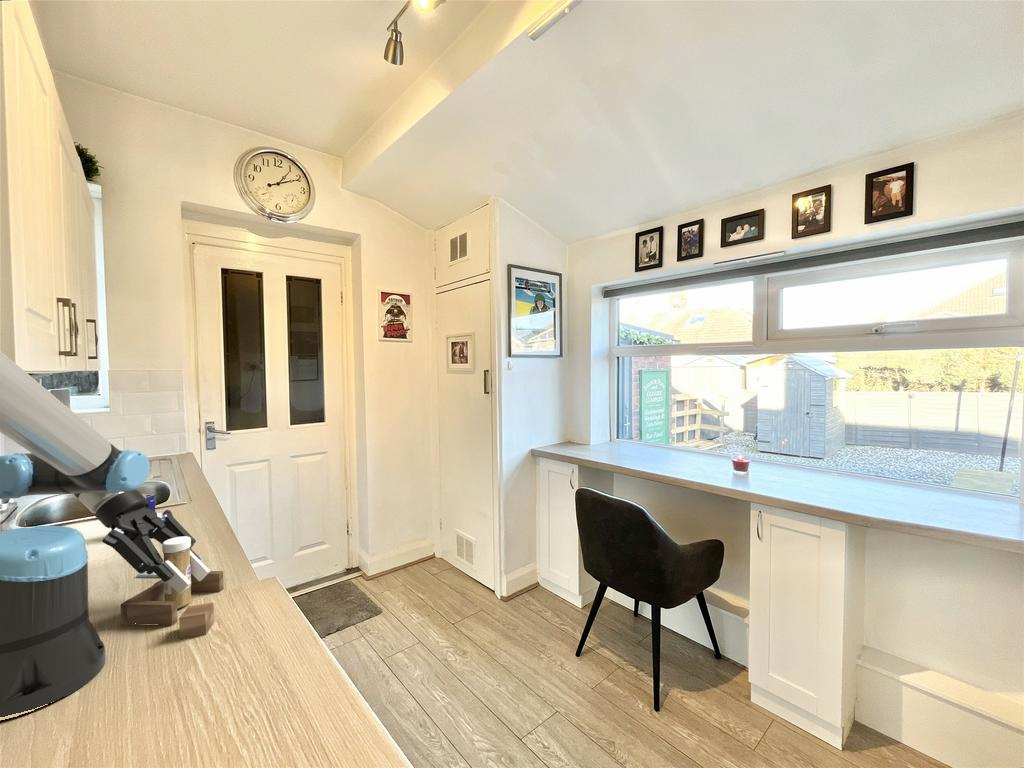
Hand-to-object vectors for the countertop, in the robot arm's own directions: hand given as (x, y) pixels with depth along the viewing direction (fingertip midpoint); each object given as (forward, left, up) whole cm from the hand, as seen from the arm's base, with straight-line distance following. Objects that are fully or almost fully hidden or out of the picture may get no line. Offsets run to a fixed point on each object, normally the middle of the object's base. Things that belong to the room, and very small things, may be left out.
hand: (195, 581), depth 86 cm
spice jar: (0, +4, -5) cm, 6 cm away
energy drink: (+36, +45, -5) cm, 58 cm away
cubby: (0, +4, -5) cm, 7 cm away
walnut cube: (-8, -7, -5) cm, 12 cm away
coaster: (+16, +19, -5) cm, 26 cm away
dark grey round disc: (+9, +13, -5) cm, 17 cm away
